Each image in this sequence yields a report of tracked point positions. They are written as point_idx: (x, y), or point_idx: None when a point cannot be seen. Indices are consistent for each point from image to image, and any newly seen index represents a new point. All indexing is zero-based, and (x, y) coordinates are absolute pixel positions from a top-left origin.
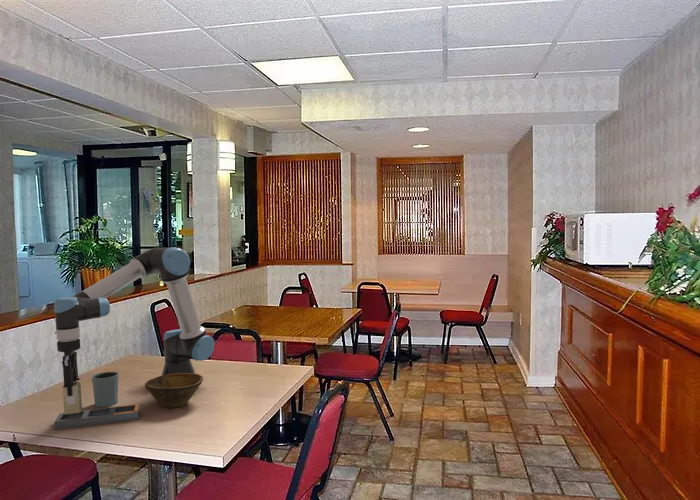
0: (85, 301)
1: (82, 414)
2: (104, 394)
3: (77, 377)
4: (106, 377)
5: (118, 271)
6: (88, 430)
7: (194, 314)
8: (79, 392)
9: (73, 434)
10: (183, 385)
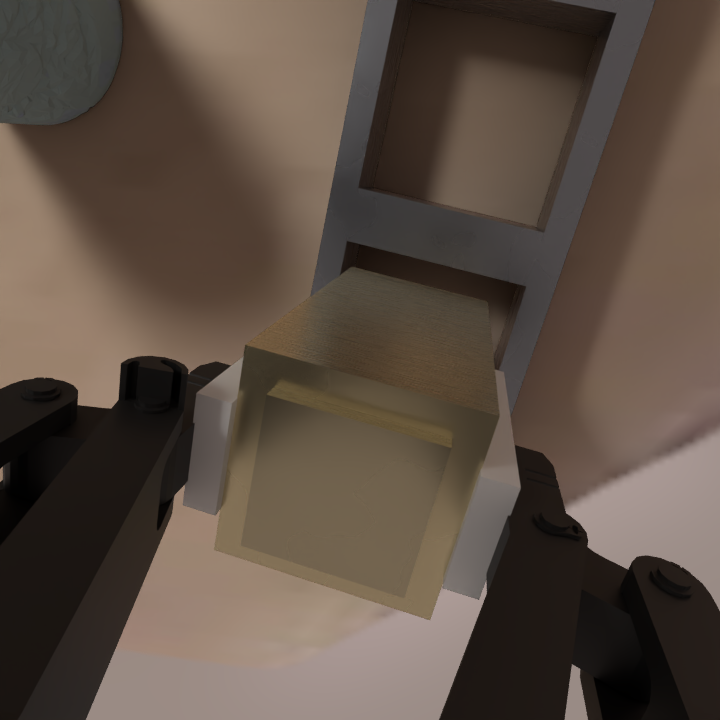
0: None
1: (349, 255)
2: (38, 3)
3: (74, 389)
4: None
5: None
6: (694, 231)
7: None
8: (406, 339)
9: (702, 351)
10: None
